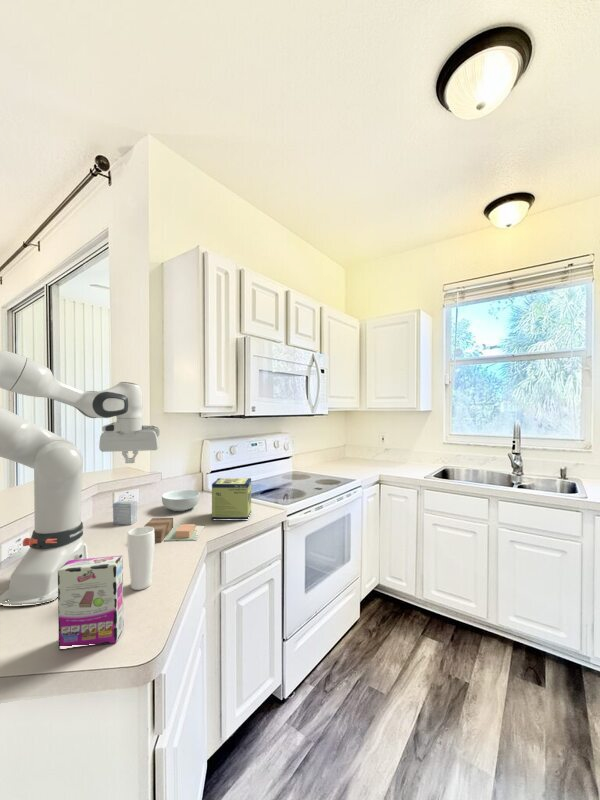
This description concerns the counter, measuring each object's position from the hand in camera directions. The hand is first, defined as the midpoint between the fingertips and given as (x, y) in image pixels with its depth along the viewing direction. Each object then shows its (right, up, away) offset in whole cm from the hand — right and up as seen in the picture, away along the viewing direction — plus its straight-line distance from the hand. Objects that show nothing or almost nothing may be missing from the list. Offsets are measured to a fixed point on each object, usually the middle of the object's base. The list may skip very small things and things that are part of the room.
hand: (130, 463), depth 130 cm
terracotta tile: (+20, -24, 0) cm, 32 cm away
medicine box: (-9, -27, +14) cm, 32 cm away
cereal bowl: (+8, -27, +32) cm, 43 cm away
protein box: (+34, -27, +21) cm, 48 cm away
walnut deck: (+10, -27, +1) cm, 29 cm away
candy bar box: (+19, -27, -56) cm, 65 cm away
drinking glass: (+20, -27, -35) cm, 49 cm away
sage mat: (+20, -27, +2) cm, 34 cm away
